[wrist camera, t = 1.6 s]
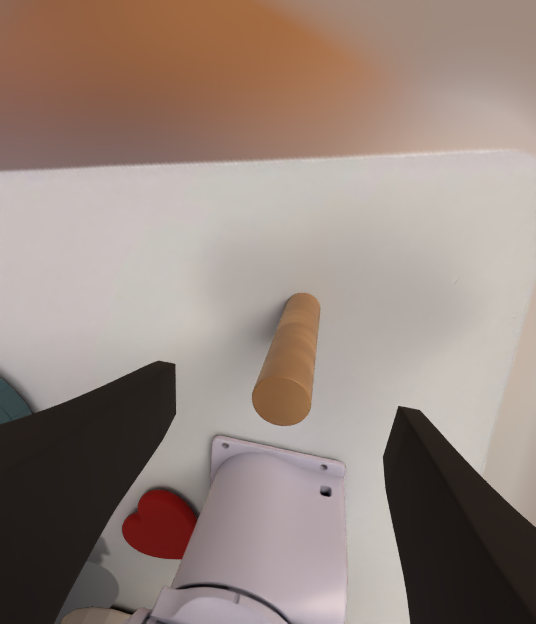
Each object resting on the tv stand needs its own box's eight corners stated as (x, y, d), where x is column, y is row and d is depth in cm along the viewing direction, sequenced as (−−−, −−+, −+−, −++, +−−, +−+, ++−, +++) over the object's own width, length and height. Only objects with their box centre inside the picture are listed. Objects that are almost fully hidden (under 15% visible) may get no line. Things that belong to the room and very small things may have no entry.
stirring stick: (322, 295, 19) (315, 382, 10) (317, 326, 19) (306, 431, 11) (288, 290, 19) (253, 370, 11) (284, 321, 20) (249, 419, 11)
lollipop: (306, 574, 27) (154, 478, 26) (305, 586, 26) (148, 488, 26) (256, 611, 30) (119, 527, 30) (253, 623, 30) (112, 537, 29)
